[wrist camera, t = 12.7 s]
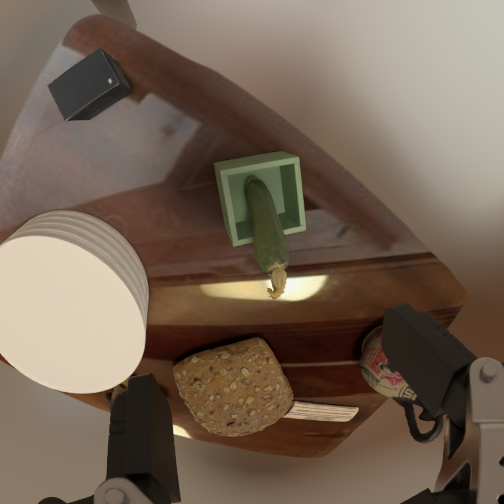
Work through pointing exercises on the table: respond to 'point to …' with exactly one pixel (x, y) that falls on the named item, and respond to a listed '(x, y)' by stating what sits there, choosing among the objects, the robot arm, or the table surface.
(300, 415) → the newspaper
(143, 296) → the plate stack
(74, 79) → the box
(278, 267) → the vegetable
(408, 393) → the ceramic jug
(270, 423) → the bread
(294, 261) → the table surface
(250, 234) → the bin
